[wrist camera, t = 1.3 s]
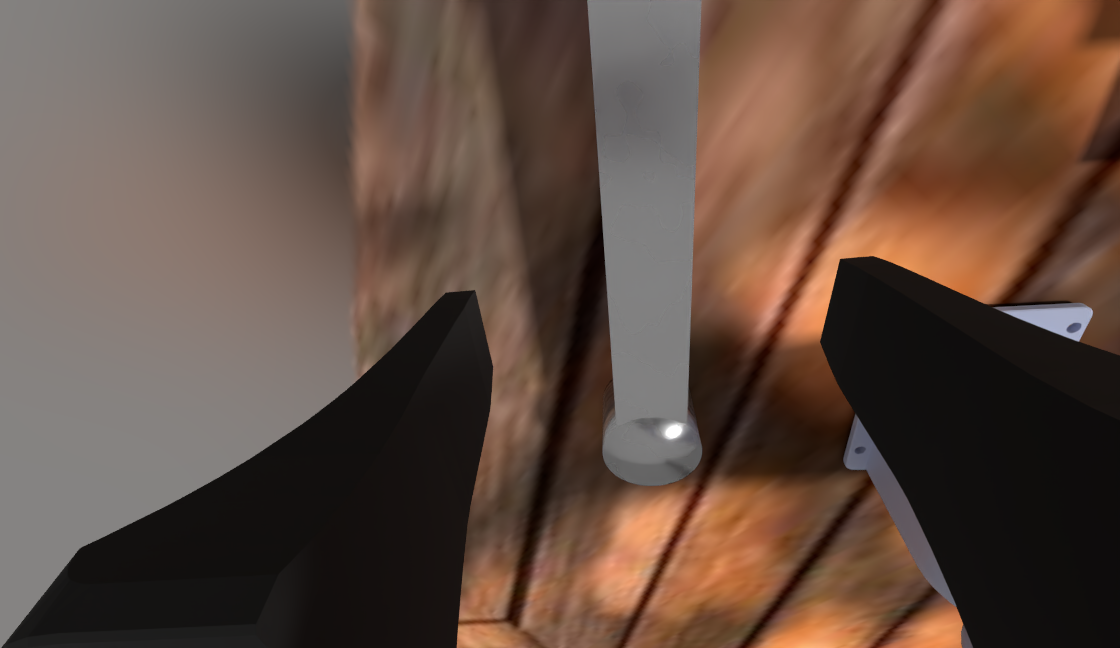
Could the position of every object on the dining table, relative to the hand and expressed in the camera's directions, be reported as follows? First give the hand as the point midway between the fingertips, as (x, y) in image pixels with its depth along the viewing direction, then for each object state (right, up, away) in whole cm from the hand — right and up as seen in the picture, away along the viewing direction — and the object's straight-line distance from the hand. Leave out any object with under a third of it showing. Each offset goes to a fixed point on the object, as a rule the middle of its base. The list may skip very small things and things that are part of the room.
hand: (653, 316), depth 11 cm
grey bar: (+1, +4, +10) cm, 11 cm away
